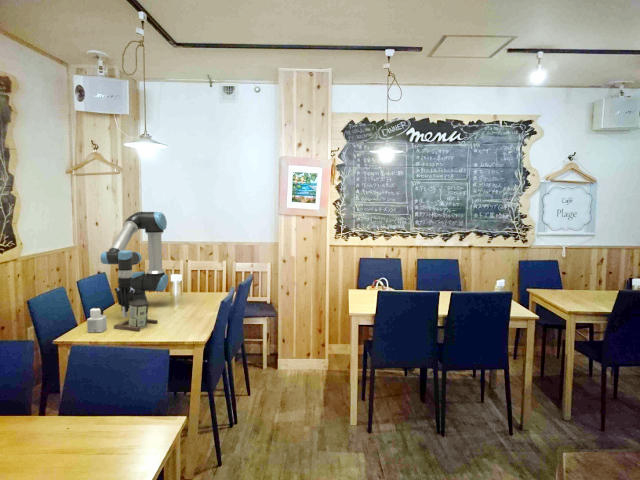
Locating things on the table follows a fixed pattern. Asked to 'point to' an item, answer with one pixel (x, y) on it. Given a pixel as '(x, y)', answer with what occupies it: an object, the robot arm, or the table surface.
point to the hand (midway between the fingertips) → (125, 317)
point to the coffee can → (138, 313)
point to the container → (96, 320)
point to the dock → (123, 327)
